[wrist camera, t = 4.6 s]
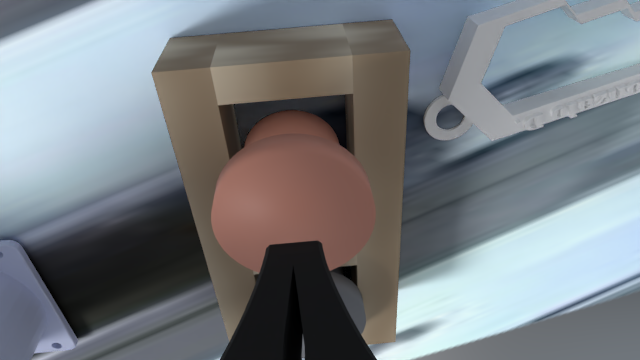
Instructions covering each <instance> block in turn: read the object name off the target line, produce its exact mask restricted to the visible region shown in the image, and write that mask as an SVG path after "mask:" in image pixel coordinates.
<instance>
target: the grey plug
mask: <svg viewBox="0 0 640 360" xmlns="http://www.w3.org/2000/svg"><path fill="white" fill-rule="evenodd" d="M330 273H331V275H332V278H333V281H334V283H335V285H336V287H337V290H338V292H339V294H340V296H341V298H342V300H343V302H344V304H345V306H346V308H347V310H348V312H349V314H350V316H351V318H352V319H353V321H354V323H355V325H356V327H357V328H358V330H359V332H360V334H362V333H363V331H364V329H365V325H366V315H365V309H364V303H363V298H362V294H361V292H360V290H359V288H358V287H357V286H356V285H355V284H354V283H353V282H352V281H351V280H349V279H348V278H346V277H344V275H343V268H342V267H337V268H335V269H333V270H331V271H330ZM302 358H305V345H304V338H303V339H302Z"/></svg>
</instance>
